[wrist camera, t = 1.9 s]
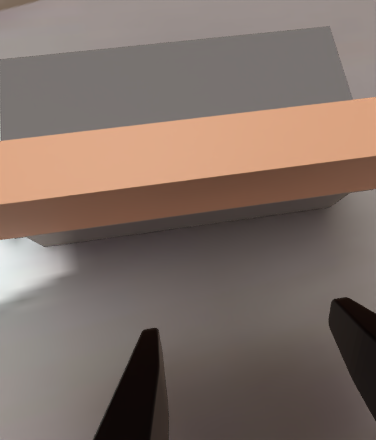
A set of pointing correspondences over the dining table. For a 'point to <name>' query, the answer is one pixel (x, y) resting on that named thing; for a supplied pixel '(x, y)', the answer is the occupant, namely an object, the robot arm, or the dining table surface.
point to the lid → (185, 167)
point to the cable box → (170, 98)
